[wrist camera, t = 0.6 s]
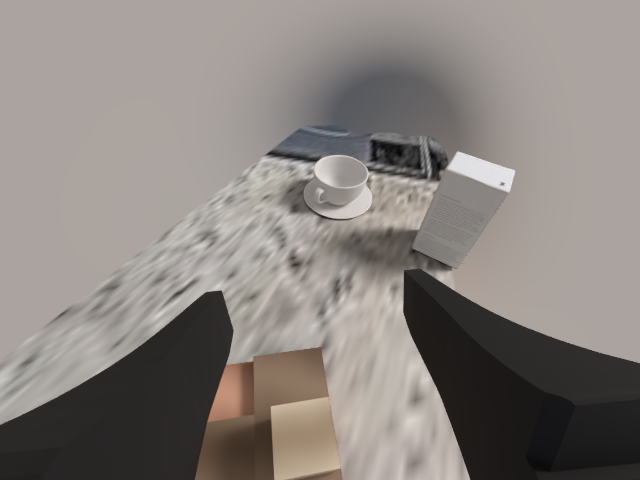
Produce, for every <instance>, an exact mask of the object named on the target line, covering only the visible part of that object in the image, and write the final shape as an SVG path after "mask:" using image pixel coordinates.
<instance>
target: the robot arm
mask: <svg viewBox="0 0 640 480" xmlns="http://www.w3.org/2000/svg"><path fill="white" fill-rule="evenodd" d="M403 313H404V316H405V319H406V322H407V325H408V328H409V331H410V334H411V336H412V338H413V340H414V342H415V344H416V347H417V349H418V351H419V353H420V355H421V357H422V359H423V361H424V363H425V365H426V367H427V369H428V371H429V373H430V375H431V377H432V379H433V381H434V383H435V385H436V387H437V390H438V392H439V394H440V396H441V399H442V401H443V404H444V407H445V409H446V412H447V415H448V417H449V420H450V423H451V425H452V428H453V431H454V434H455V436H456V439H457V442H458V445H459V448H460V450H461V453H462V456H463V459H464V462H465V465H466V468H467V471H468V474H469V477H470V480H640V363H637V362H633V361H629V360H625V359H621V358H617V357H613V356H610V355H606V354H602V353H598V352H595V351H592V350H588V349H586V348H582V347H579V346H576V345H573V344H570V343H567V342H564V341H560V340H558V339H555V338H552V337H549V336H547V335H544V334H542V333H539V332H536V331H534V330H531V329H528V328H526V327H523V326H521V325H519V324H517V323H514V322H512V321H510V320H508V319H505V318H503V317H501V316H499V315H497V314H495V313H493V312H491V311H489V310H487V309H485V308H483V307H481V306H479V305H478V304H476V303H474V302H472V301H470V300H469V299H467V298H465V297H464V296H462V295H460V294H459V293H457V292H455V291H454V290H452V289H451V288H449V287H448V286H446V285H444V284H443V283H441V282H440V281H438V280H437V279H435V278H434V277H432V276H431V275H429V274H428V273H426V272H424V271H423V270H421V269H412V270H404V306H403ZM232 337H233V327H232V324H231V320H230V317H229V314H228V310H227V307H226V304H225V300H224V297H223V293H222V290H221V291H212V292H206V293H204V294H203V295H202V296H201V297H199V298H198V299H197V300H196V301H194V302H193V303H192V304H191V305H190V306H189V307H187V308H186V309H185V310H184V311H183V312H182V313H180V314H179V315H178V316H177V317H176V318H175V319H173V320H172V321H171V322H170V323H169V324H168V325H166V326H165V327H164V328H162V329H161V330H160V331H159V332H157V333H156V334H155V335H154V336H152V337H151V338H150V339H149V340H147V341H146V342H145V343H143V344H142V345H141V346H139V347H138V348H137V349H135V350H134V351H132V352H131V353H130V354H128V355H127V356H125V357H124V358H122V359H121V360H119V361H118V362H116V363H115V364H113V365H112V366H110V367H109V368H107V369H105V370H104V371H102V372H100V373H99V374H97V375H95V376H94V377H92V378H90V379H89V380H87V381H85V382H84V383H82V384H80V385H79V386H77V387H75V388H73V389H72V390H70V391H68V392H66V393H64V394H62V395H60V396H59V397H57V398H55V399H53V400H51V401H49V402H47V403H45V404H43V405H41V406H39V407H37V408H35V409H33V410H31V411H29V412H27V413H25V414H23V415H21V416H19V417H17V418H14V419H12V420H10V421H8V422H6V423H4V424H1V425H0V480H195V477H196V472H197V467H198V462H199V457H200V452H201V448H202V443H203V439H204V435H205V430H206V426H207V422H208V418H209V415H210V411H211V408H212V405H213V402H214V399H215V396H216V393H217V390H218V387H219V384H220V381H221V378H222V375H223V372H224V369H225V366H226V363H227V360H228V357H229V353H230V348H231V343H232Z"/></svg>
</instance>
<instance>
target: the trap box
mask: <svg viewBox="0 0 640 480" xmlns="http://www.w3.org/2000/svg"><path fill="white" fill-rule="evenodd" d="M253 359H254V362H246V363H239V364H232V365H226V366H225V369H224V372H223V375H222V378H221V381H220V384H219V387H218V390H217V393H216V396H215V399H214V402H213V405H212V408H211V411H210V415H209V418H208V422H207V426H206V430H205V435H204V439H203V443H202V448H201V452H200V457H199V462H198V467H197V472H196V477H195V480H274V463H273V443H272V422H271V406H276V405H282V404H288V403H294V402H300V401H306V400H312V399H318V398H324V397H329V394H328V388H327V382H326V376H325V370H324V364H323V358H322V352H321V347H318V348H311V349H304V350H297V351H290V352H283V353H275V354H268V355H261V356H254V357H253ZM329 401H330V400H329ZM330 407H331V406H330ZM331 413H332V412H331ZM332 419H333V418H332ZM333 425H334V424H333ZM334 431H335V430H334ZM337 450H338V449H337ZM338 456H339V455H338ZM339 462H340V461H339ZM300 480H343V479H342V473H341V467H340V469H339V470H337V471H336V472H334V473H330V474H325V475H320V476H315V477H310V478H305V479H300Z"/></svg>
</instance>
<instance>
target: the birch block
mask: <svg viewBox="0 0 640 480" xmlns="http://www.w3.org/2000/svg"><path fill="white" fill-rule="evenodd" d="M271 422H272V443H273V463H274V480H300V479H305V478H310V477H315V476H320V475H325V474H330V473H334V472H336V471H337V470H339V469H340V462H339V456H338V450H337V443H336V437H335V431H334V425H333V419H332V413H331V407H330V401H329V397H324V398H318V399H312V400H306V401H300V402H294V403H288V404H282V405H276V406H271Z"/></svg>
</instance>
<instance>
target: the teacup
mask: <svg viewBox="0 0 640 480" xmlns="http://www.w3.org/2000/svg"><path fill="white" fill-rule="evenodd" d="M367 179H368V170H367V168H366V166H365V165H364V164H363V163H362V162H360V161H359V160H357V159H355V158H352V157H349V156H343V155H332V156H327V157H324V158H322V159H320V160H319V161H318V162H317V163H316V164H315V166H314V179H312V180H311V181H310V182H309V183H308V184H307V185H306V186H305V188H304V192H303V195H304V199H305V202H306V203H307V205H308V206H309V207H310V208H311V209H312V210H313V211H315V212H316V213H318V214H320V215H323V216H325V217H329V218H334V219H349V218H354V217H357V216H359V215H361V214H363V213H364V212H366V211H367V210H368V209H369V207H370V206H371V203H372V195H371V192H370V190H369V189H368V187H367V186H366V185H365V184H366V181H367Z"/></svg>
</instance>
